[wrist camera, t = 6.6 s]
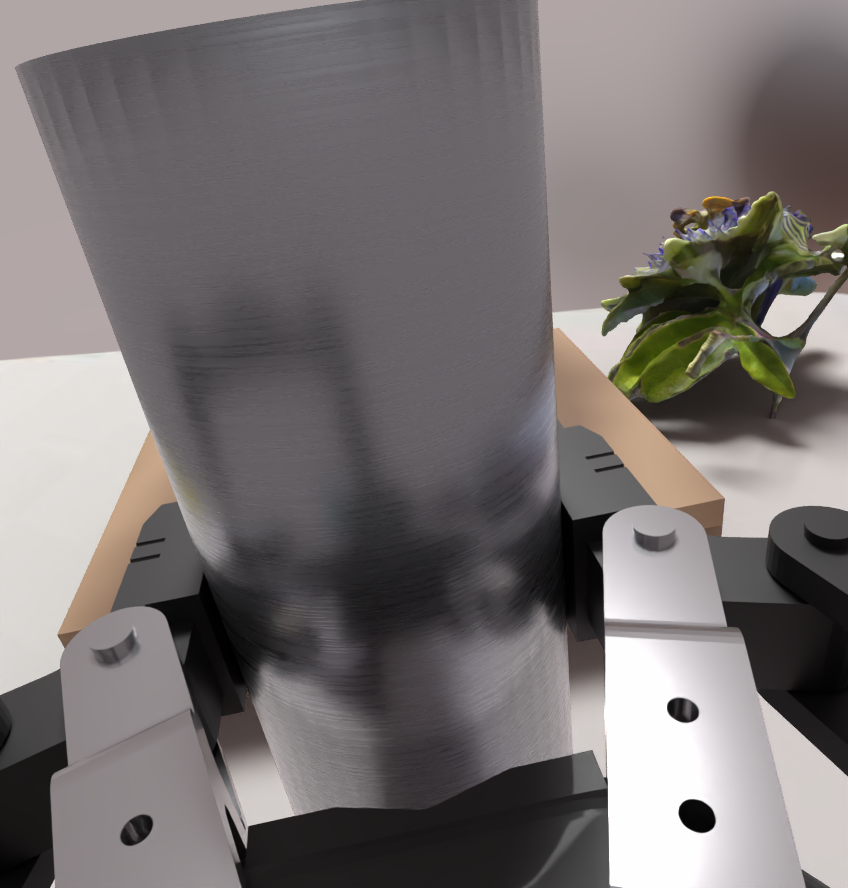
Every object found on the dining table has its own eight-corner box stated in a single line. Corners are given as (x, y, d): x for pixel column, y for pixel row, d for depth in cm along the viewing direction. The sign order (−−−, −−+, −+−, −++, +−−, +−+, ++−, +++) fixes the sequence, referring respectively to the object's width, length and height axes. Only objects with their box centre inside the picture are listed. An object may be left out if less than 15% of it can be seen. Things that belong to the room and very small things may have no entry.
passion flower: (694, 440, 41) (791, 251, 39) (833, 505, 31) (975, 255, 29) (536, 371, 38) (634, 161, 36) (635, 420, 28) (780, 129, 26)
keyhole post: (333, 1143, 12) (-234, 80, 4) (327, 825, 18) (73, 78, 9) (655, 1062, 13) (729, -63, 4) (554, 774, 18) (503, 13, 10)
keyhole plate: (108, 727, 22) (57, 634, 20) (187, 470, 36) (162, 402, 34) (715, 597, 23) (724, 498, 21) (561, 398, 37) (558, 328, 35)
